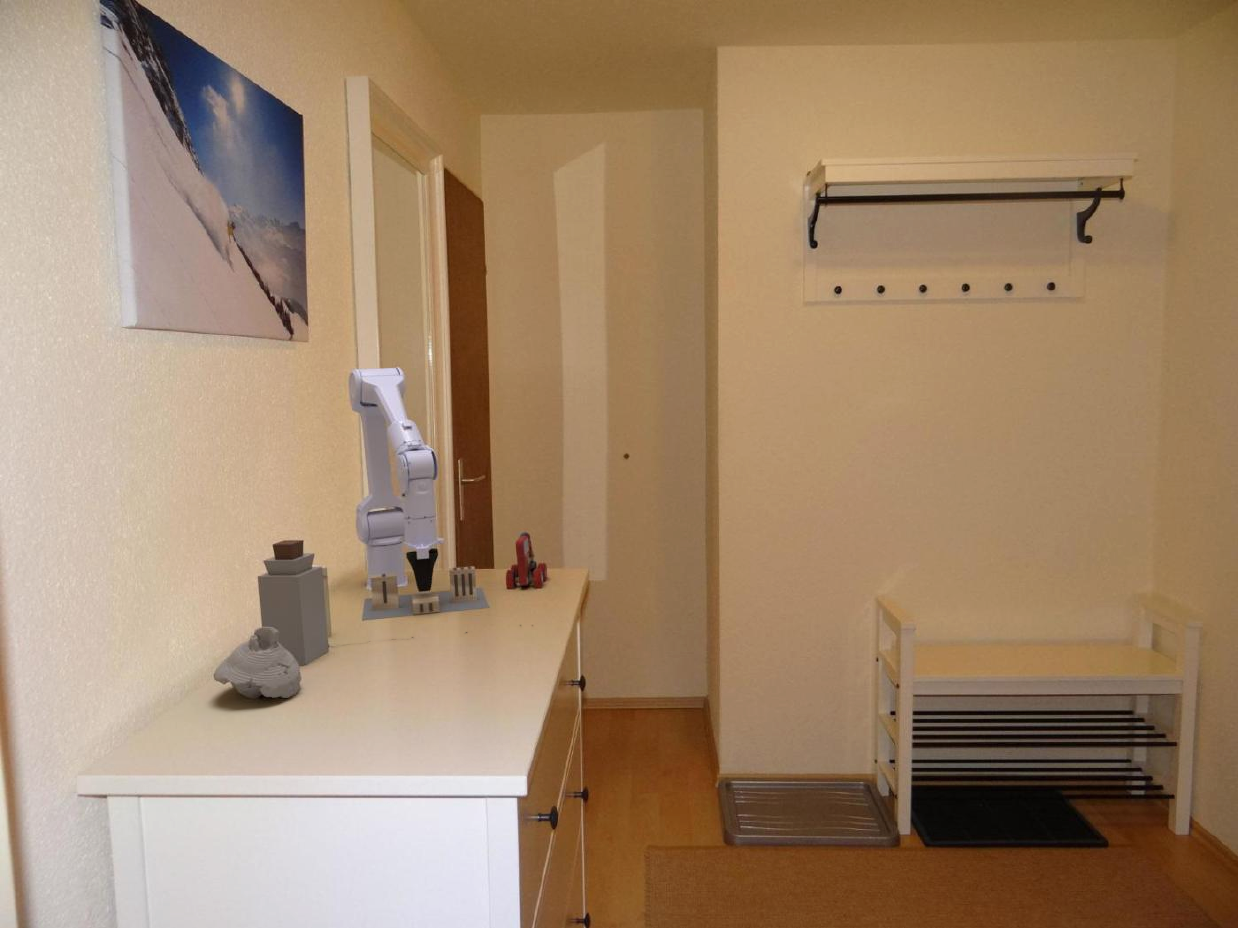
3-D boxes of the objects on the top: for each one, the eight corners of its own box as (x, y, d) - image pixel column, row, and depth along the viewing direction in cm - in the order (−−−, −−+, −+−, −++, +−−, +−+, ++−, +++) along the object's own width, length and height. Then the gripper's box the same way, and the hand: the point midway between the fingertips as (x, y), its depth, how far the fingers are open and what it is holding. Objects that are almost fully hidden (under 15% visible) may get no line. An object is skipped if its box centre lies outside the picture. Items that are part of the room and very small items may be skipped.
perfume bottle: (305, 665, 137) (296, 546, 135) (265, 664, 139) (255, 546, 137) (328, 651, 144) (319, 537, 142) (289, 650, 145) (280, 538, 143)
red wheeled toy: (549, 578, 187) (546, 528, 186) (540, 593, 175) (537, 540, 174) (515, 579, 188) (512, 529, 186) (504, 594, 175) (501, 541, 174)
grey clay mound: (321, 702, 129) (330, 634, 126) (248, 733, 119) (257, 659, 116) (266, 667, 134) (274, 601, 132) (192, 693, 124) (199, 623, 122)
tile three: (451, 600, 170) (449, 567, 169) (475, 597, 171) (473, 565, 170) (452, 603, 168) (450, 570, 167) (476, 600, 169) (474, 567, 168)
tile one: (373, 607, 167) (370, 574, 166) (398, 605, 168) (396, 572, 167) (373, 610, 165) (370, 577, 164) (398, 608, 166) (396, 574, 165)
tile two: (412, 595, 166) (412, 603, 160) (437, 592, 167) (438, 600, 161) (412, 606, 166) (413, 615, 160) (438, 604, 167) (439, 612, 161)
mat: (365, 601, 174) (364, 598, 174) (481, 590, 179) (481, 587, 179) (361, 623, 159) (361, 620, 159) (489, 610, 164) (489, 607, 164)
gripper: (444, 521, 159) (449, 597, 160) (440, 509, 173) (445, 579, 175) (402, 524, 157) (407, 601, 159) (402, 512, 171) (406, 583, 173)
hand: (424, 590), depth 167 cm, fingers closed
